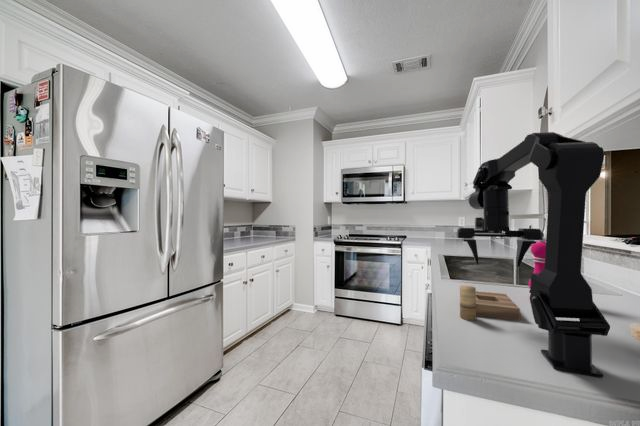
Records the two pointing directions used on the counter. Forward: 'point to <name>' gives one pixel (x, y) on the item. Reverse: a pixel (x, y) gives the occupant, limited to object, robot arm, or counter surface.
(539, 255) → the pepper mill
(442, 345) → the counter surface
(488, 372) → the counter surface
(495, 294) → the board
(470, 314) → the peg
